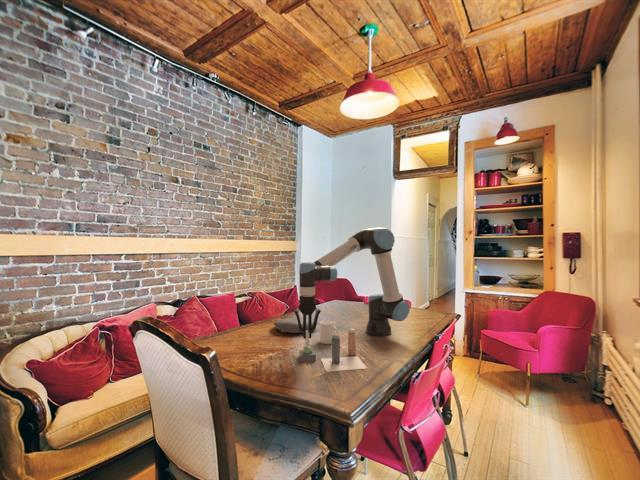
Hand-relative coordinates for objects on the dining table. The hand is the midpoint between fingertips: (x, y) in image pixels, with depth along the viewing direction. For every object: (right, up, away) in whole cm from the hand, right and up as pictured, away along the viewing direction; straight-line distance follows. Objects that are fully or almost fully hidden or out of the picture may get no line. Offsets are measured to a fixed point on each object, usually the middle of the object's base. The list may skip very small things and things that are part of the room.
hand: (307, 345), depth 143 cm
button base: (0, -6, 0) cm, 6 cm away
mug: (+11, -7, +23) cm, 27 cm away
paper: (+16, -6, -6) cm, 19 cm away
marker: (+13, -6, -6) cm, 16 cm away
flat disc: (-9, -8, +49) cm, 51 cm away
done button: (0, -5, 0) cm, 5 cm away
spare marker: (+22, -6, +5) cm, 23 cm away
